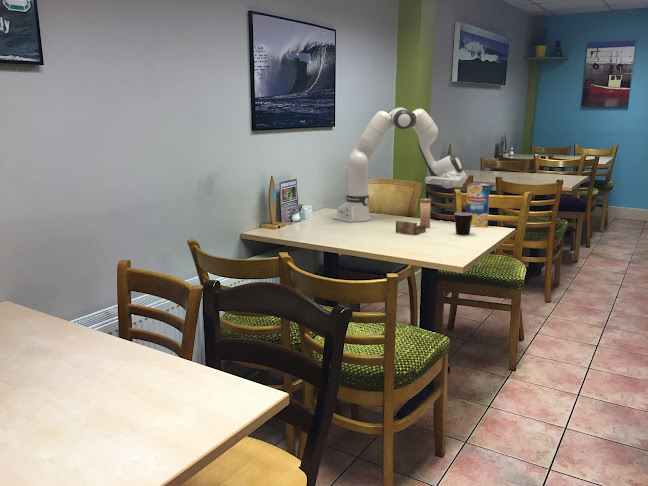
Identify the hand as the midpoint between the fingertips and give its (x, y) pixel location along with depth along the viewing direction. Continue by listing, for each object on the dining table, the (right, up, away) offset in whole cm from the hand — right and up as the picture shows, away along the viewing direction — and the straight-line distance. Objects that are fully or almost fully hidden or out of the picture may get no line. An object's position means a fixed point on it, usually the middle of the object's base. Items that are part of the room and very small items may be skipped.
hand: (436, 182), depth 290 cm
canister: (-7, -24, -4) cm, 26 cm away
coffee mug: (+8, -28, -22) cm, 37 cm away
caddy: (-16, -27, -14) cm, 34 cm away
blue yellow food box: (+21, -23, -1) cm, 31 cm away
